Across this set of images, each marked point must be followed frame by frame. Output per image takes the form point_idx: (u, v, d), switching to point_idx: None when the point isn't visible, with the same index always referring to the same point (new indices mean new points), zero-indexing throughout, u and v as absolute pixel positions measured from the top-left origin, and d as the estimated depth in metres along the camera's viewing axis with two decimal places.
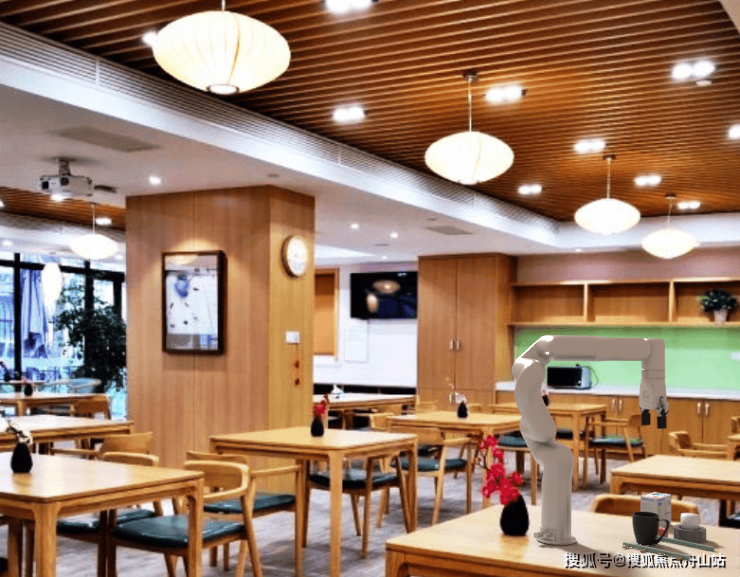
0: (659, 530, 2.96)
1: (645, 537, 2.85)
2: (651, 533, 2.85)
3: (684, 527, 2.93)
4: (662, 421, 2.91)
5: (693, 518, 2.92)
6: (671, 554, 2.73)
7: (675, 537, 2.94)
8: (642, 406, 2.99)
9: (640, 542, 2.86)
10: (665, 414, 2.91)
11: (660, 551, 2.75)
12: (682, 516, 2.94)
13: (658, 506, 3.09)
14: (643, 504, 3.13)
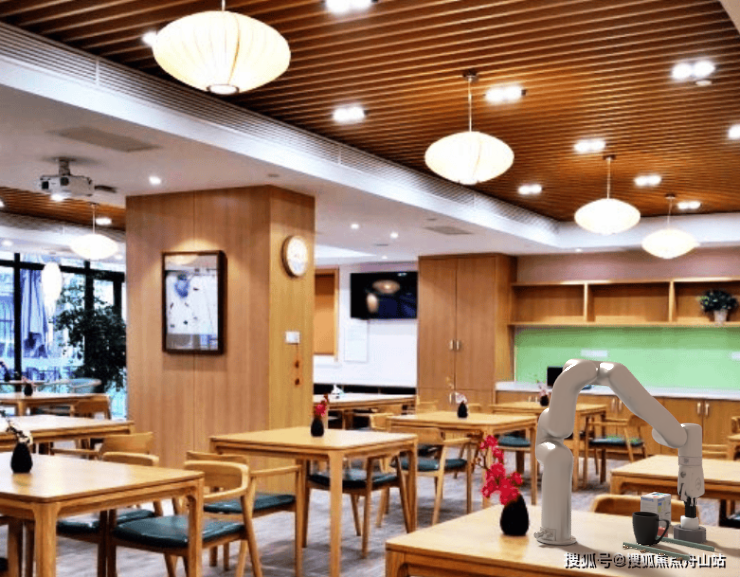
0: (659, 530, 2.96)
1: (645, 537, 2.85)
2: (651, 533, 2.85)
3: None
4: None
5: (693, 520, 2.92)
6: (671, 554, 2.73)
7: (675, 537, 2.94)
8: (695, 495, 2.91)
9: (640, 542, 2.86)
10: None
11: (660, 551, 2.75)
12: (682, 519, 2.94)
13: (658, 506, 3.09)
14: (643, 504, 3.13)
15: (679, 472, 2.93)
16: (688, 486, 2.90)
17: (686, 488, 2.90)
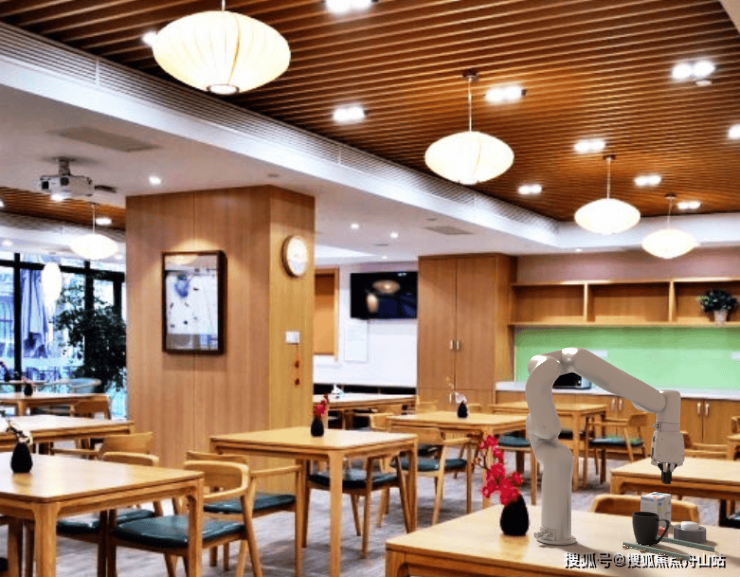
0: (659, 530, 2.96)
1: (645, 537, 2.85)
2: (651, 533, 2.85)
3: None
4: None
5: (693, 526, 2.92)
6: (671, 554, 2.73)
7: (675, 537, 2.94)
8: (664, 461, 2.92)
9: (640, 542, 2.86)
10: None
11: (660, 551, 2.75)
12: (682, 525, 2.94)
13: (658, 506, 3.09)
14: (643, 504, 3.12)
15: None
16: (655, 450, 2.92)
17: (654, 452, 2.93)
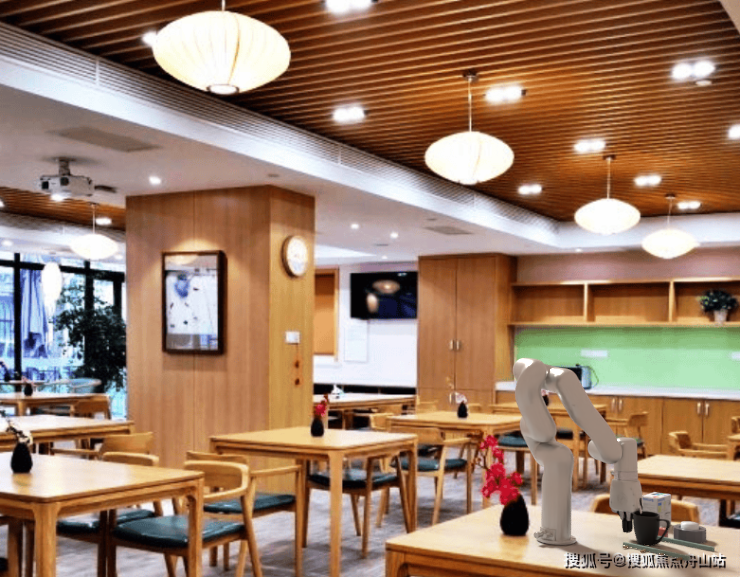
0: (659, 530, 2.96)
1: (645, 537, 2.85)
2: (651, 533, 2.85)
3: None
4: (630, 525, 2.93)
5: (693, 526, 2.92)
6: (671, 554, 2.73)
7: (675, 537, 2.94)
8: (616, 508, 2.94)
9: (640, 542, 2.86)
10: None
11: (660, 551, 2.75)
12: (682, 525, 2.94)
13: (658, 506, 3.09)
14: (643, 504, 3.13)
15: None
16: None
17: None
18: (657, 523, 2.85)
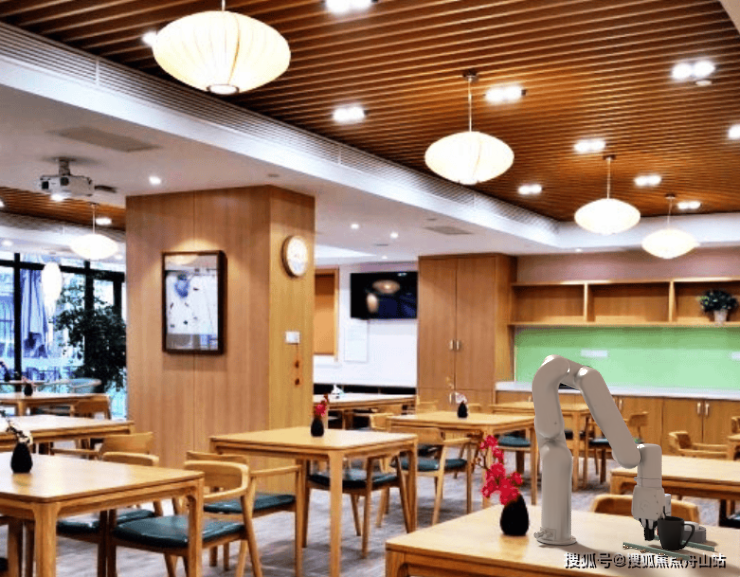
0: None
1: (670, 542, 2.79)
2: (676, 538, 2.79)
3: None
4: (653, 533, 2.86)
5: None
6: (671, 554, 2.73)
7: None
8: (638, 515, 2.87)
9: (665, 547, 2.80)
10: (656, 526, 2.86)
11: (660, 551, 2.75)
12: None
13: None
14: None
15: None
16: None
17: None
18: (682, 528, 2.79)
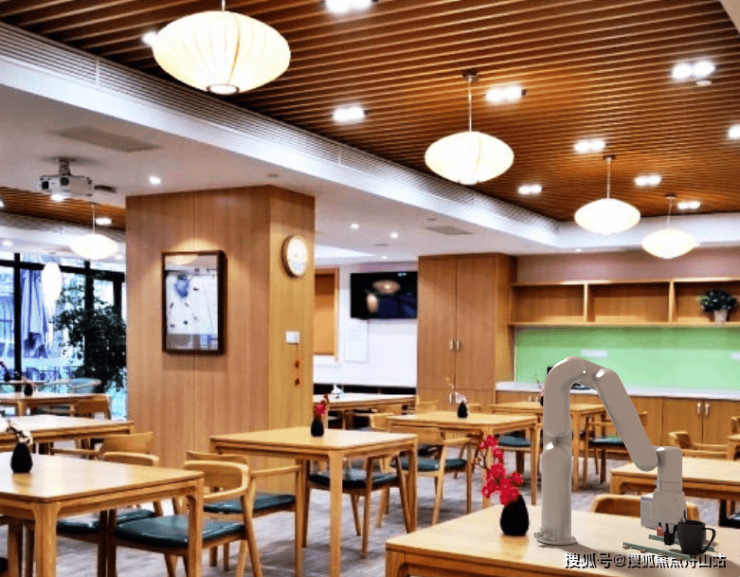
0: (659, 530, 2.96)
1: (690, 547, 2.74)
2: (696, 542, 2.73)
3: None
4: (673, 538, 2.81)
5: None
6: (671, 554, 2.73)
7: (675, 537, 2.94)
8: (658, 519, 2.82)
9: (685, 551, 2.75)
10: (676, 530, 2.81)
11: (660, 551, 2.75)
12: None
13: None
14: (643, 504, 3.13)
15: None
16: None
17: None
18: (702, 532, 2.74)
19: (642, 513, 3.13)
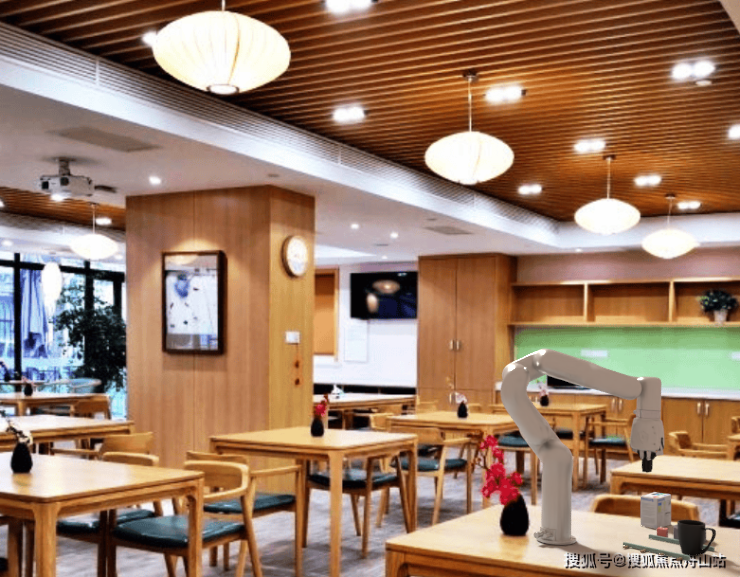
0: (659, 530, 2.96)
1: (690, 547, 2.74)
2: (696, 542, 2.73)
3: None
4: (650, 465, 2.89)
5: None
6: (671, 554, 2.73)
7: (675, 537, 2.94)
8: (636, 447, 2.90)
9: (685, 551, 2.75)
10: None
11: (660, 551, 2.75)
12: None
13: (658, 506, 3.09)
14: (643, 504, 3.13)
15: None
16: None
17: None
18: (702, 532, 2.74)
19: (642, 513, 3.13)
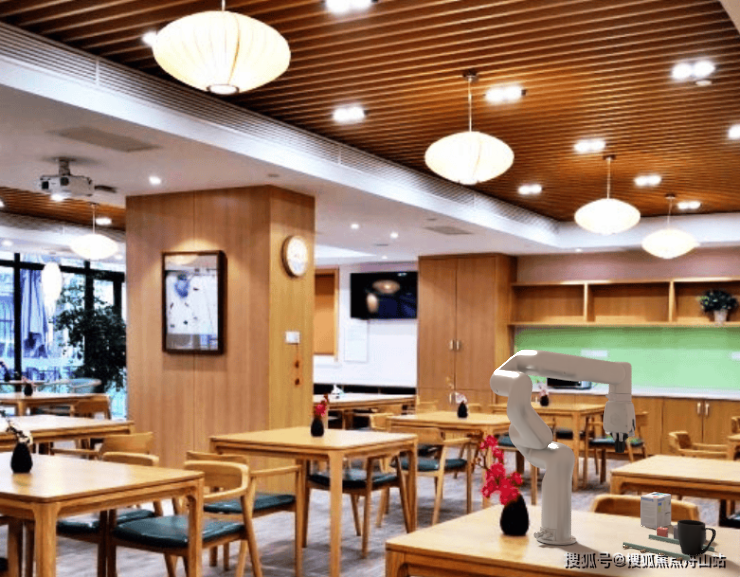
0: (659, 530, 2.96)
1: (690, 547, 2.74)
2: (696, 542, 2.73)
3: None
4: (623, 446, 3.02)
5: None
6: (671, 554, 2.73)
7: (675, 537, 2.94)
8: (609, 429, 3.03)
9: (685, 551, 2.75)
10: (626, 439, 3.02)
11: (660, 551, 2.75)
12: None
13: (658, 506, 3.09)
14: (643, 504, 3.13)
15: None
16: None
17: None
18: (702, 532, 2.74)
19: (642, 513, 3.13)
